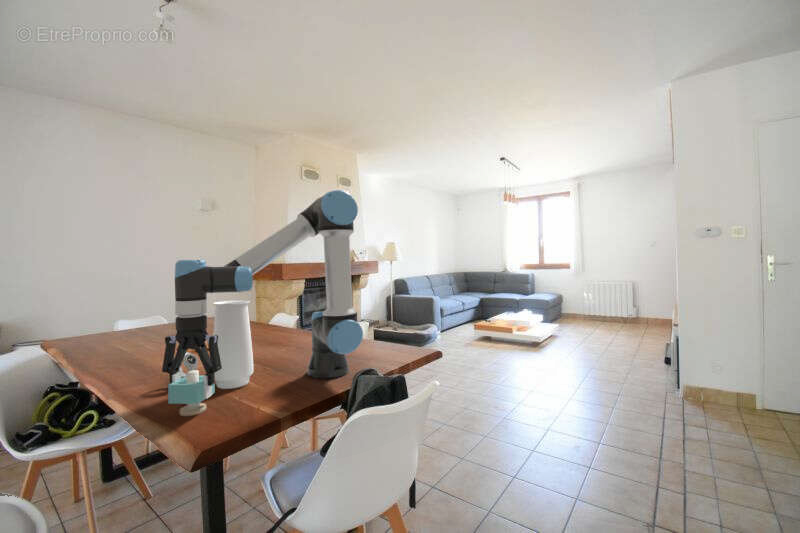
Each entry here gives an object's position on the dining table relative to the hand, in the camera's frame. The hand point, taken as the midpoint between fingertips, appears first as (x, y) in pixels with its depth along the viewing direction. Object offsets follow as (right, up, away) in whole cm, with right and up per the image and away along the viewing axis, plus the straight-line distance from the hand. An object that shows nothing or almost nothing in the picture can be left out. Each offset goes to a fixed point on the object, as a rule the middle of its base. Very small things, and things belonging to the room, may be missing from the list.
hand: (192, 396), depth 96 cm
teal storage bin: (0, 0, 0) cm, 0 cm away
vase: (+1, -4, +22) cm, 22 cm away
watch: (-15, -4, +21) cm, 27 cm away
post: (0, -4, 0) cm, 4 cm away
